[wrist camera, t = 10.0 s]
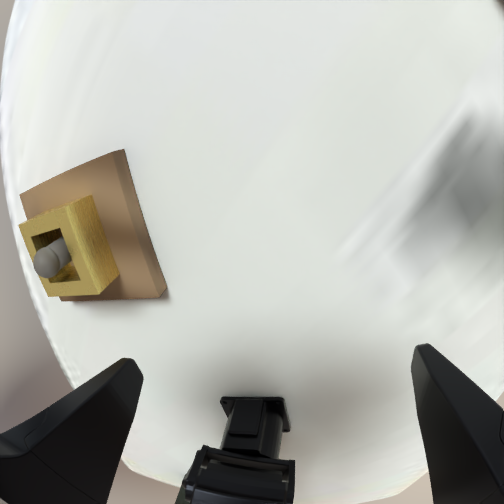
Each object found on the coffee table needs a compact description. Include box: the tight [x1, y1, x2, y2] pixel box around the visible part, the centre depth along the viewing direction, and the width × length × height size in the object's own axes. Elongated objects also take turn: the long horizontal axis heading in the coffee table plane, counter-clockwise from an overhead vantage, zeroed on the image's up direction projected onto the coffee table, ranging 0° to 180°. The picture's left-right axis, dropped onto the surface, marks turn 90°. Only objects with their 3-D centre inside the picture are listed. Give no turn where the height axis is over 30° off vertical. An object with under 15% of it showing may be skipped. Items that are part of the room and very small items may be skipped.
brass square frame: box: [19, 194, 120, 297], centre depth 19 cm, size 6×6×3 cm
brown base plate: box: [20, 149, 167, 301], centre depth 19 cm, size 11×12×6 cm
